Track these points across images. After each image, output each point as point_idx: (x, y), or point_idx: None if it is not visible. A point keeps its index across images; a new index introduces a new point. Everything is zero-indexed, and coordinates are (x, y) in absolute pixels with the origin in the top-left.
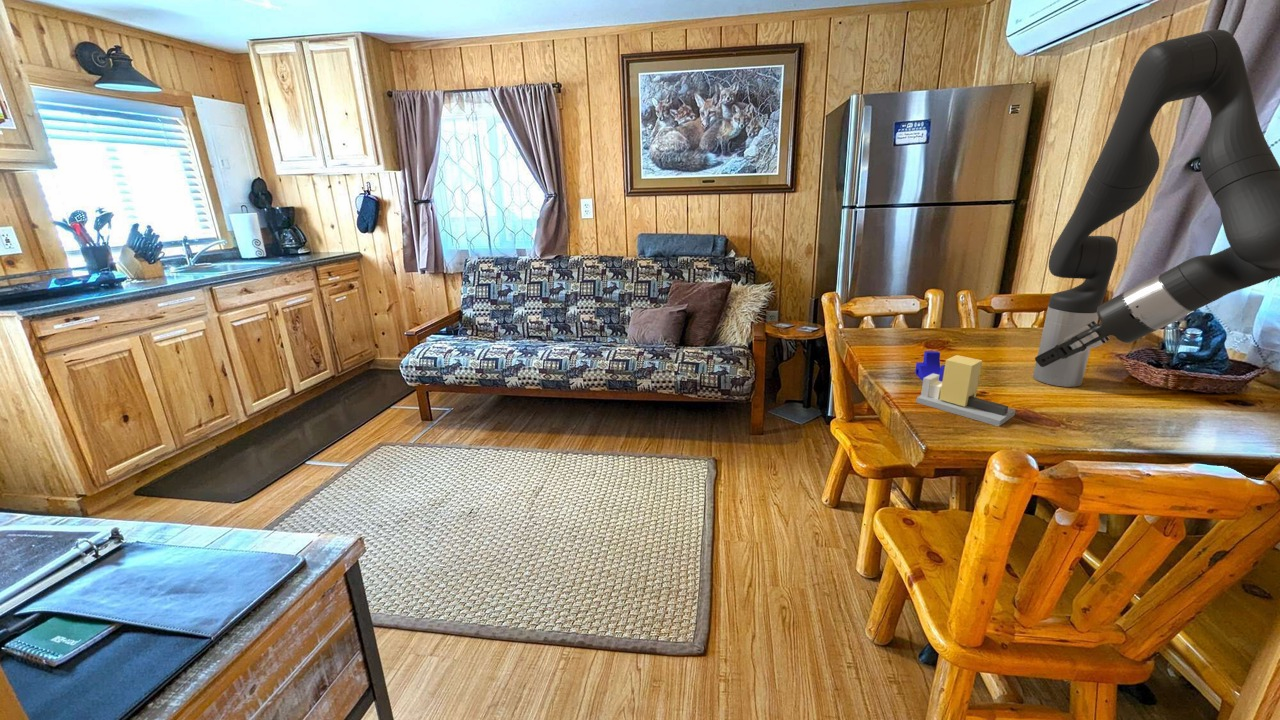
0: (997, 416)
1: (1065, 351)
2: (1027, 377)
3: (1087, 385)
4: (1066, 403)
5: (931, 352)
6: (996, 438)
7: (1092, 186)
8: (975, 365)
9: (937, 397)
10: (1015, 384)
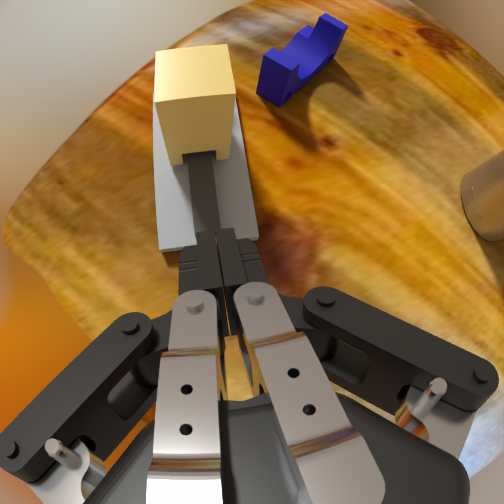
0: (181, 232)
1: (137, 377)
2: (460, 167)
3: (501, 247)
4: (414, 269)
5: (329, 20)
6: (99, 280)
7: None
8: (182, 101)
9: None
10: (419, 165)
